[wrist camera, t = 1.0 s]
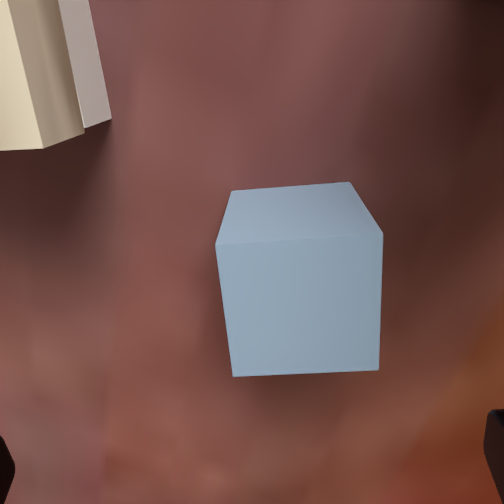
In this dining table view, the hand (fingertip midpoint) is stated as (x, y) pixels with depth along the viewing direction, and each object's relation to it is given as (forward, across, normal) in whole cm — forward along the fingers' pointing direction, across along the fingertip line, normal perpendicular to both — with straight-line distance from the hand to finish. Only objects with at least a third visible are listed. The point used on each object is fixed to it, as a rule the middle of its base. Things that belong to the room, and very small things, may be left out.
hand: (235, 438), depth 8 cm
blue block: (+12, -2, +1) cm, 12 cm away
